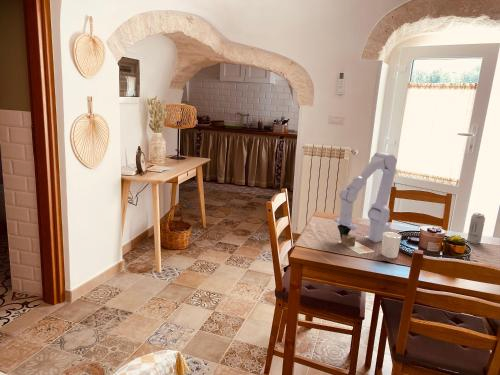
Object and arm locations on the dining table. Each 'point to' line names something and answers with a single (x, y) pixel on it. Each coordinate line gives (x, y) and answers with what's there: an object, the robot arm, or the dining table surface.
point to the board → (360, 248)
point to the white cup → (391, 244)
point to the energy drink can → (476, 228)
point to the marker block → (348, 240)
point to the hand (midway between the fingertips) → (343, 239)
